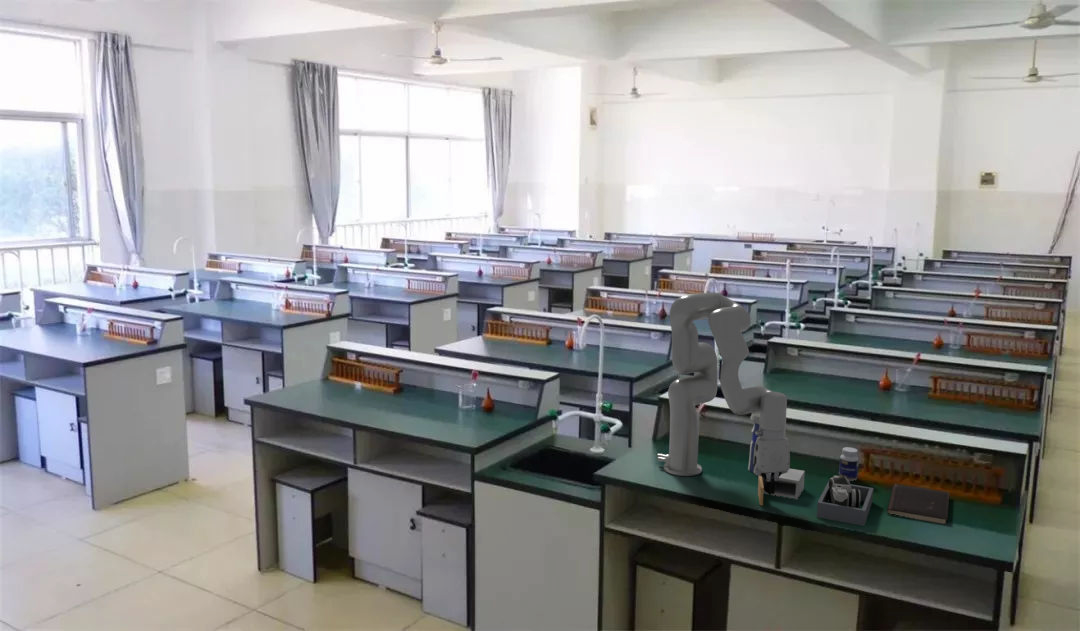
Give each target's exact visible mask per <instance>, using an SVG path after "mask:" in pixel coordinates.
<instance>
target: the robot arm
mask: <svg viewBox="0 0 1080 631" xmlns="http://www.w3.org/2000/svg"><path fill="white" fill-rule="evenodd" d="M707 319H708V320H707ZM751 319H752V318H751V315H750V313H749V311H748V310H747V309H746V308H745V307H744V306H742V305H741V304H739V303H738V302H736V301H734V300H732V299H730V298H729V297H727V296H725V295H723V294H721V293H720V292H719V293H718V292H714V291H713V292H703V293H701V292H700V293H693V294H692V293H691V294H686V295H682V296H679V297H678V298H677V299H675V300H674V301H673V302H672V304H671V306H670V308H669V322H670V323H669V324H670V329H671V358H672V360H671V361H672V367H673V370H674V371H675V372H676V373H677V374H681V375H688V374H693V375H692V376H691V375H690V376H685V377H680V378H677V379H675V380H673V381H672V382H671V383H670V385H669V387H668V390H667V395H668V396H667V397H668V403H669V413H670V415H669V441H668V442H669V445H668V446H669V448H668V453H667V454H663V453H657V456H656V459H657V461H658V462H664V464H663V470H664V471H665V472H666V473H668V474H669V475H670V474H671V475H674V476H681V477H694V476H697V475H700V474H701V473H702V472H703V467H702V466H701V465H700V464H698V462H699V461H698V459H699V458H698V456H699V436H700V435H699V432H700V417H699V413H698V411H697V408H696V406H698V405H701V404H705V403H710V402H711V401H713V400H714V399H715V398H716V396H717V392H718V357H717V353H716V350H715V349H714V347H713V346H712V345H711V344H710V343H707V342H699V332H698V329H697V326H696V323H694V322H695V321H702V320H707V322H708V326H709V329H710V331H711V334H712V337H713V340H714V341H715V344H716V347H717V350H718V352H719V355H720V357H721V359H722V363H721V367H720V368H721V369H720V376H719V377H720V379H719V382H720V389H721V393H722V394H723V398H724V400H725V403H726V405H727V406H728V409H730V411H731V412H732V413H733V414H735V415H739V416H744V415H748V414H752V413H753V412H759V411H760V427H759V430H758V431H755V434H756V435H758V436H759V437H757V440H756V444H755V449H754V456H753V467H754V471H753V472H752V473H753V474H754V475H755V476H762V477H763V478H764V490H765V492H767V493H768V494H767V495H769V494H774V493H775V489H776V481H777V480H778V478H779V476H780V475H781V474H785V473H787V472H788V470H789V468H790V467H791V455H790V454H791V452H790V451H791V450H790V445H789V444H790V443H789V438H788V437H786V427H787V408H788V407H787V404H788V399H787V396H786V395H785V393H782V392H778V391H772V390H770V389H768V388H767V387H763V386H761V385H759V386H758V385H756V386H751V387H747V388H742V385H741V382H740V378H739V369H740V367H741V364H742V362H743V361H744V360H745V359H746V358H747V357H748V356H749V354H750V350H749V347H748V344H747V342H746V339H745V338H744V335H743V333H744V332H746V331H747V330H749V329H750V327H751V323H752V320H751ZM790 469H791V468H790Z"/></svg>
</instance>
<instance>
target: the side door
mask: <svg viewBox="0 0 1080 631" xmlns="http://www.w3.org/2000/svg"><path fill="white" fill-rule="evenodd" d="M757 476H758V475H757ZM757 479H758V481H757V495H758V501H759V502H758V503H759V506H764V494H763V492H764V486H763V481H762V476H758V477H757Z"/></svg>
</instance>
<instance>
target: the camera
mask: <svg viewBox="0 0 1080 631" xmlns="http://www.w3.org/2000/svg"><path fill="white" fill-rule="evenodd" d="M828 481H829V501H828V503H831V504H837V505H842V506H848V507H853V508H859V509H861V503H862V502H861V495H860V490H858V489H852V487H851V485H850V484H851V481H849V480H848V479H847V478H846V477H841V478H839V475H833V476H832V477H830V478H828Z"/></svg>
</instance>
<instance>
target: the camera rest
mask: <svg viewBox="0 0 1080 631" xmlns="http://www.w3.org/2000/svg"><path fill="white" fill-rule="evenodd" d="M850 485H851V487H852V489H858V490H860V495H861V501H862V502H861V503H863V505H862V508H853V507H848V506H842V505H837V504H831V503H829V501H828V500H829V480H828V482H827V484H826V485H825V487H824V489H823V491H822V492H821V495H820V497H819V499H818V501H817V506H816V508H817V509H816V518H821V519H826V520H831V521H834V522H842V523H847V524H851V525H856V526H862V527H864V526H865V525H866V522H867V519H868V517H869V514H870V511H871V508H872V504H873V501H874V500H873V499H874V488H873V487H868V486H862V485H857V484H851V483H850ZM870 507H871V508H870Z"/></svg>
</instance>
